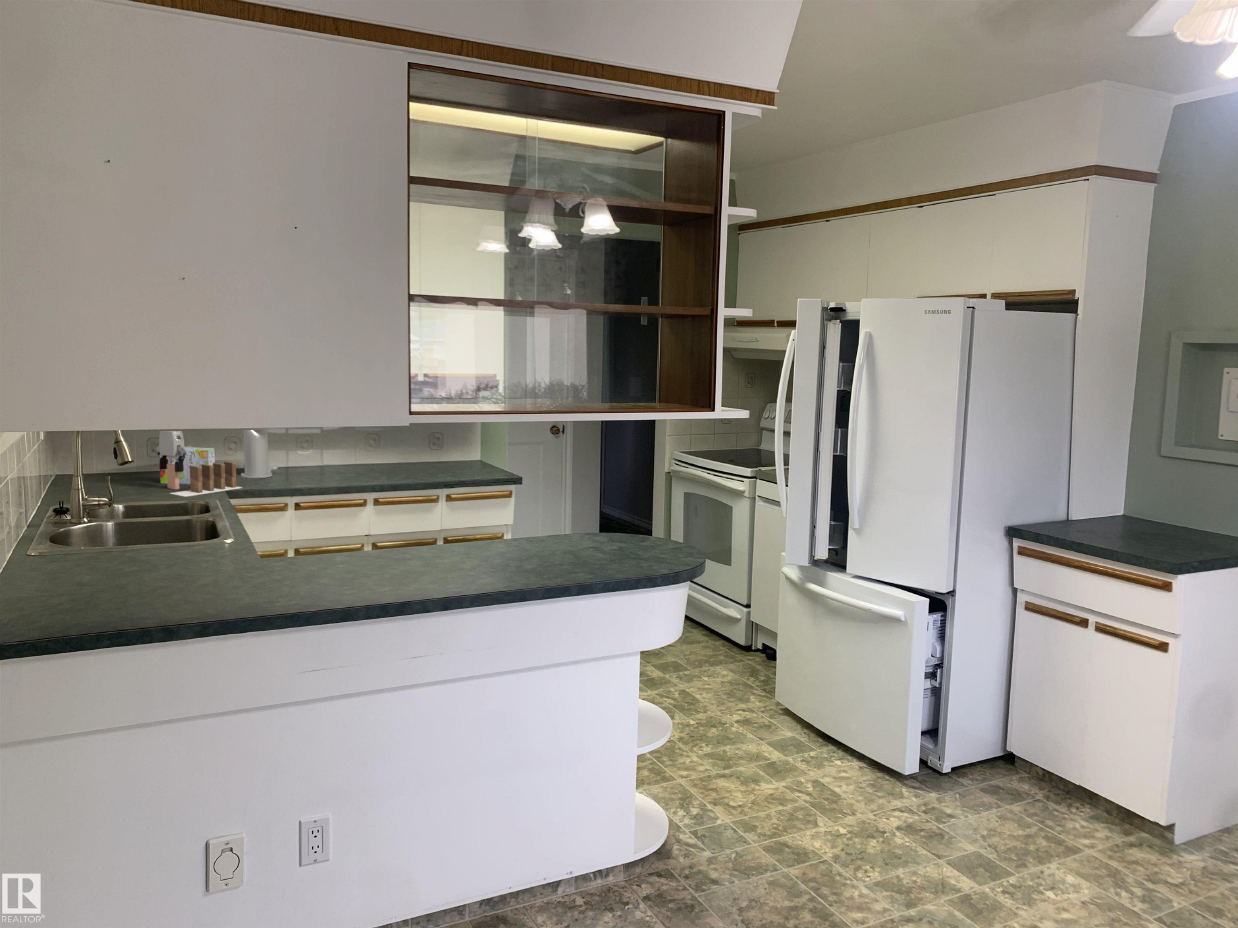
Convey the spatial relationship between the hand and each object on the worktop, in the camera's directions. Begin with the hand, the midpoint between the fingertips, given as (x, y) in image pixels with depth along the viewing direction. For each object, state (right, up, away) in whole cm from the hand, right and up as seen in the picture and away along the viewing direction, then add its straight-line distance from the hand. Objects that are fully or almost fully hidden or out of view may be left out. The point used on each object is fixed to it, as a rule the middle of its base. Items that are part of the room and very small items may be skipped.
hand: (171, 470), depth 347 cm
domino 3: (+14, -8, 0) cm, 16 cm away
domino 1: (0, -8, +2) cm, 8 cm away
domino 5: (+19, -7, +9) cm, 22 cm away
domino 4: (+17, -7, +5) cm, 19 cm away
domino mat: (+14, -8, 0) cm, 16 cm away
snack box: (-1, -6, +15) cm, 16 cm away
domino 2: (+12, -8, -4) cm, 15 cm away
